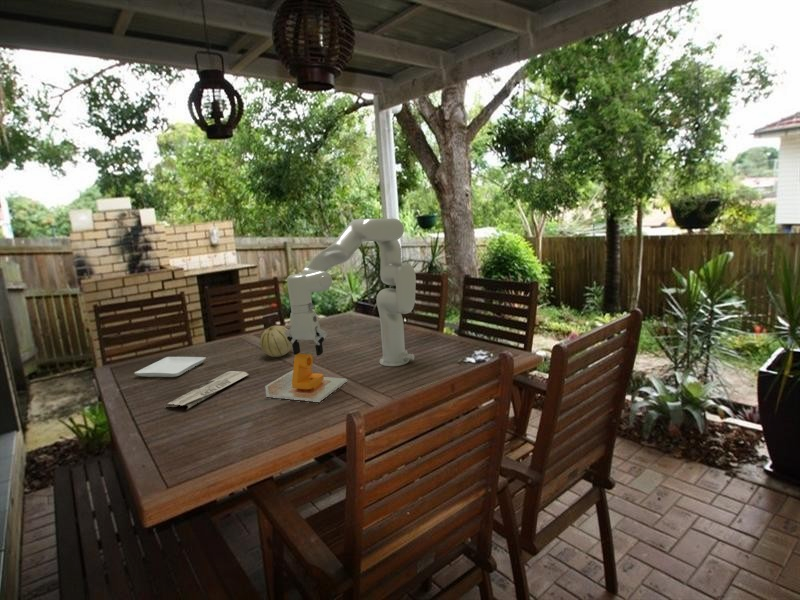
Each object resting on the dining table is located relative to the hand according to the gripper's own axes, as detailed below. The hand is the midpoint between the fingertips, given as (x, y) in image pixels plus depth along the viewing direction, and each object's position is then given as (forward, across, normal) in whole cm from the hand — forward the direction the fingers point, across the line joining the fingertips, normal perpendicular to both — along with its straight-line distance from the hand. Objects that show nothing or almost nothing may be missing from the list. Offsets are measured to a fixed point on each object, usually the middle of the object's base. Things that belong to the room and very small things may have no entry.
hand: (308, 354), depth 166 cm
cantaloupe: (+14, +40, -33) cm, 53 cm away
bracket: (+12, +1, +1) cm, 12 cm away
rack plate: (+14, +2, +1) cm, 14 cm away
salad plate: (+13, +77, -6) cm, 78 cm away
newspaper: (+14, +39, +10) cm, 43 cm away
